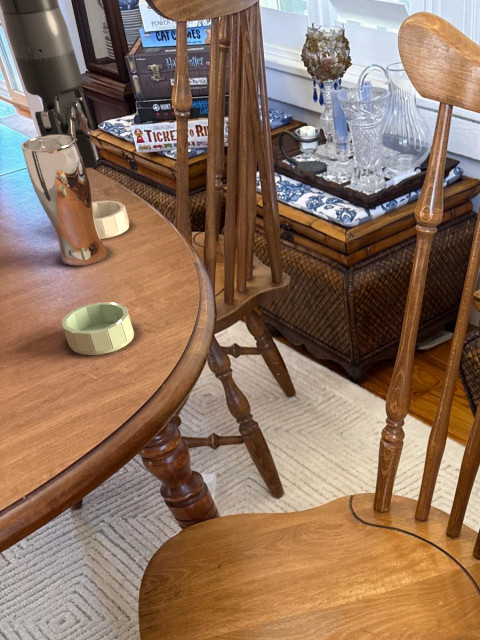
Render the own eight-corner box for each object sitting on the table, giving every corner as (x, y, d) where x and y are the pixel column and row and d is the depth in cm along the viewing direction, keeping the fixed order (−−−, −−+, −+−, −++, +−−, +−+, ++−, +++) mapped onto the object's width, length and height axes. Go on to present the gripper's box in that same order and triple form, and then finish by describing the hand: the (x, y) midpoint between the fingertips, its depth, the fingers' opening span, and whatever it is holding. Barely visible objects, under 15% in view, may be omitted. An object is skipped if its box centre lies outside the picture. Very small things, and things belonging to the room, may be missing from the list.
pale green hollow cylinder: (94, 361, 88) (86, 339, 86) (57, 342, 92) (49, 320, 90) (147, 335, 92) (140, 313, 90) (109, 317, 96) (103, 296, 94)
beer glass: (119, 255, 109) (86, 140, 99) (74, 272, 106) (35, 154, 95) (94, 242, 113) (60, 130, 102) (49, 257, 109) (9, 143, 99)
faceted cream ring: (88, 243, 112) (82, 224, 111) (71, 227, 117) (65, 209, 115) (136, 230, 115) (131, 211, 114) (118, 215, 120) (113, 196, 118)
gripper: (56, 61, 98) (96, 193, 109) (85, 35, 108) (119, 159, 119) (-4, 64, 98) (42, 196, 109) (32, 38, 108) (70, 161, 119)
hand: (82, 176), depth 114 cm, fingers open, 8 cm apart
